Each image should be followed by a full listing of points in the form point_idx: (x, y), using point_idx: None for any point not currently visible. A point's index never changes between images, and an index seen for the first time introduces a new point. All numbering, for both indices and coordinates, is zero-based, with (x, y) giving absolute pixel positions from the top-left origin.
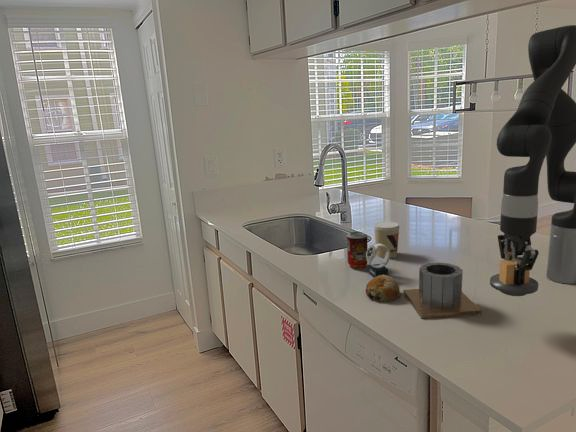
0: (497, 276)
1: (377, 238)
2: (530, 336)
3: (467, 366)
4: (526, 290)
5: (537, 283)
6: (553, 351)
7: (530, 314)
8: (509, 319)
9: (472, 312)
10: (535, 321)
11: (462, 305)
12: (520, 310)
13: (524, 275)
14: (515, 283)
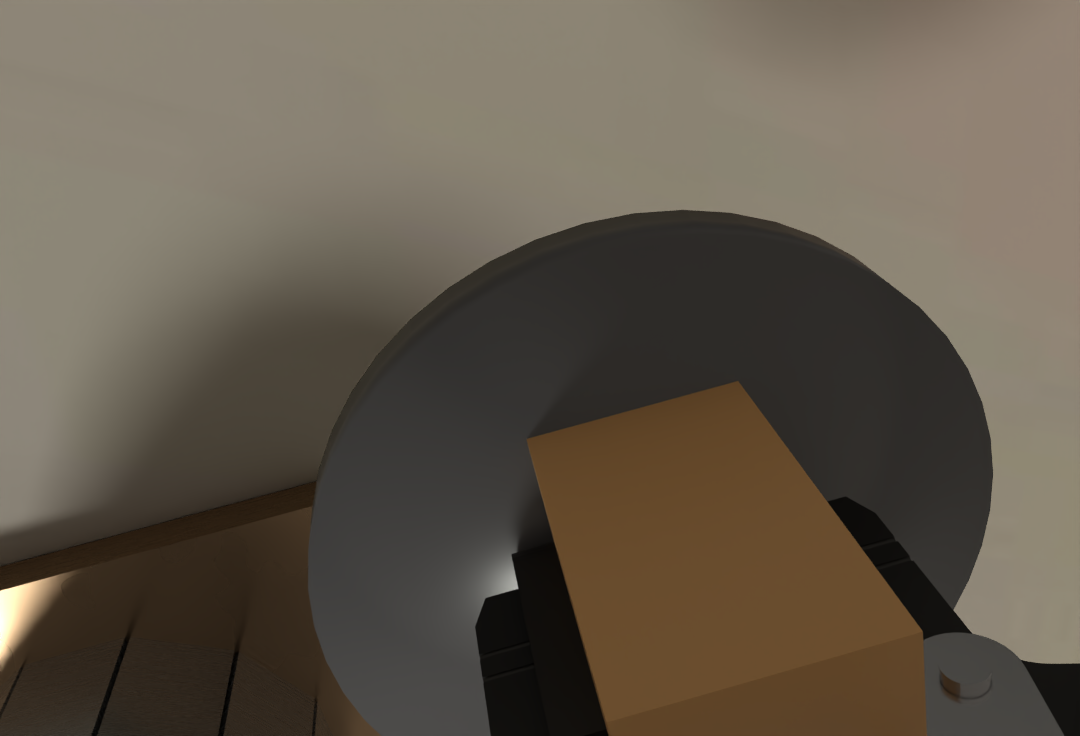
0: (469, 729)
1: None
2: (723, 154)
3: (1069, 624)
4: (987, 464)
5: (766, 251)
6: (975, 40)
7: (232, 3)
8: (397, 255)
9: None
10: (407, 4)
11: (248, 633)
12: (143, 87)
13: (932, 587)
14: None
